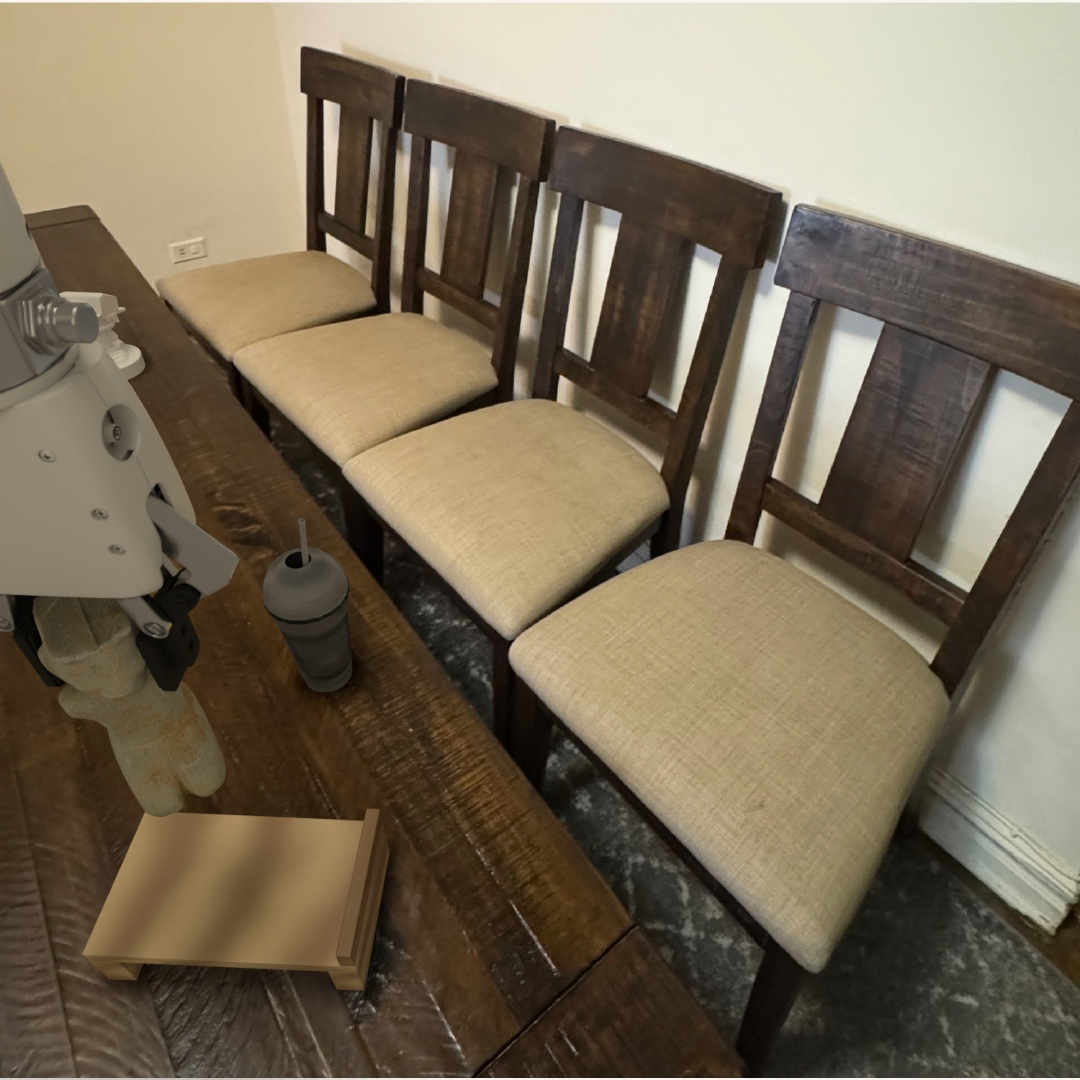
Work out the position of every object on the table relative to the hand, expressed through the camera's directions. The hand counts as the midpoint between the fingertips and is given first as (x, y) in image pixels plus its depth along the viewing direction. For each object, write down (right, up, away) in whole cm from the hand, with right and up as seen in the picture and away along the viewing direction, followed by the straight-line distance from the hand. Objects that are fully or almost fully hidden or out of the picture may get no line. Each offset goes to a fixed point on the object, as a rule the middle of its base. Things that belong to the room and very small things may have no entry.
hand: (124, 663), depth 37 cm
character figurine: (-43, +32, +74) cm, 92 cm away
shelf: (0, -22, +19) cm, 29 cm away
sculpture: (0, -7, +7) cm, 10 cm away
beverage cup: (0, -7, +35) cm, 36 cm away
